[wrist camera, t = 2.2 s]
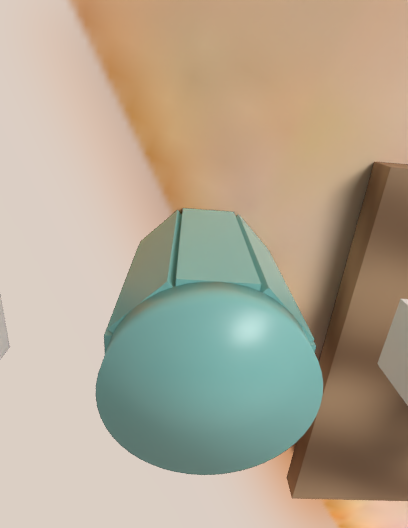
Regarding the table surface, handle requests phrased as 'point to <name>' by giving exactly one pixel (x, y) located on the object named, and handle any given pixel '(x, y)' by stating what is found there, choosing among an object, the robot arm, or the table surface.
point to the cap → (207, 351)
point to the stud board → (362, 362)
